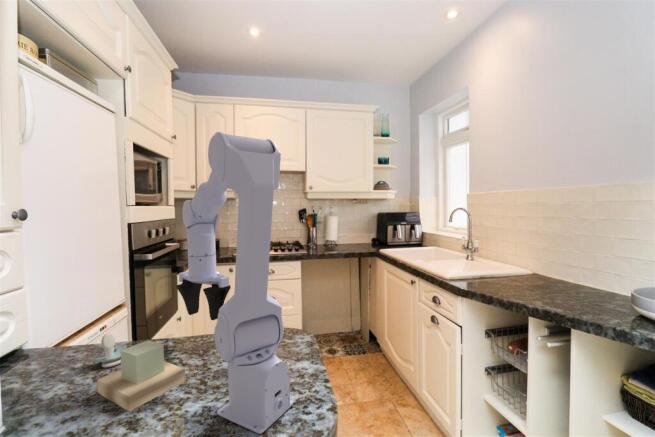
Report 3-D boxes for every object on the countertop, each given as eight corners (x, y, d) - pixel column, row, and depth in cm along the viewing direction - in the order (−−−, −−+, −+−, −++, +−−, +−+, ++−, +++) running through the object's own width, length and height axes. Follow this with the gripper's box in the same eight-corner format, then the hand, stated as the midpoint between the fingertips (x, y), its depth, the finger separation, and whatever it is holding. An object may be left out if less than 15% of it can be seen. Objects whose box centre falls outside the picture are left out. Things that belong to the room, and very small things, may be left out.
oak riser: (185, 384, 58) (184, 368, 58) (129, 415, 49) (128, 396, 49) (153, 370, 63) (152, 356, 63) (97, 395, 55) (97, 379, 55)
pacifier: (138, 355, 70) (115, 353, 71) (137, 328, 70) (114, 327, 71) (111, 371, 63) (86, 369, 64) (111, 341, 63) (85, 340, 64)
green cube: (164, 370, 57) (163, 344, 57) (137, 384, 53) (136, 356, 53) (148, 365, 59) (147, 340, 59) (121, 377, 55) (120, 350, 55)
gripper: (239, 254, 66) (241, 315, 67) (197, 251, 74) (199, 306, 74) (212, 258, 60) (214, 326, 61) (169, 255, 68) (171, 315, 68)
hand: (204, 316), depth 67 cm, fingers open, 7 cm apart
